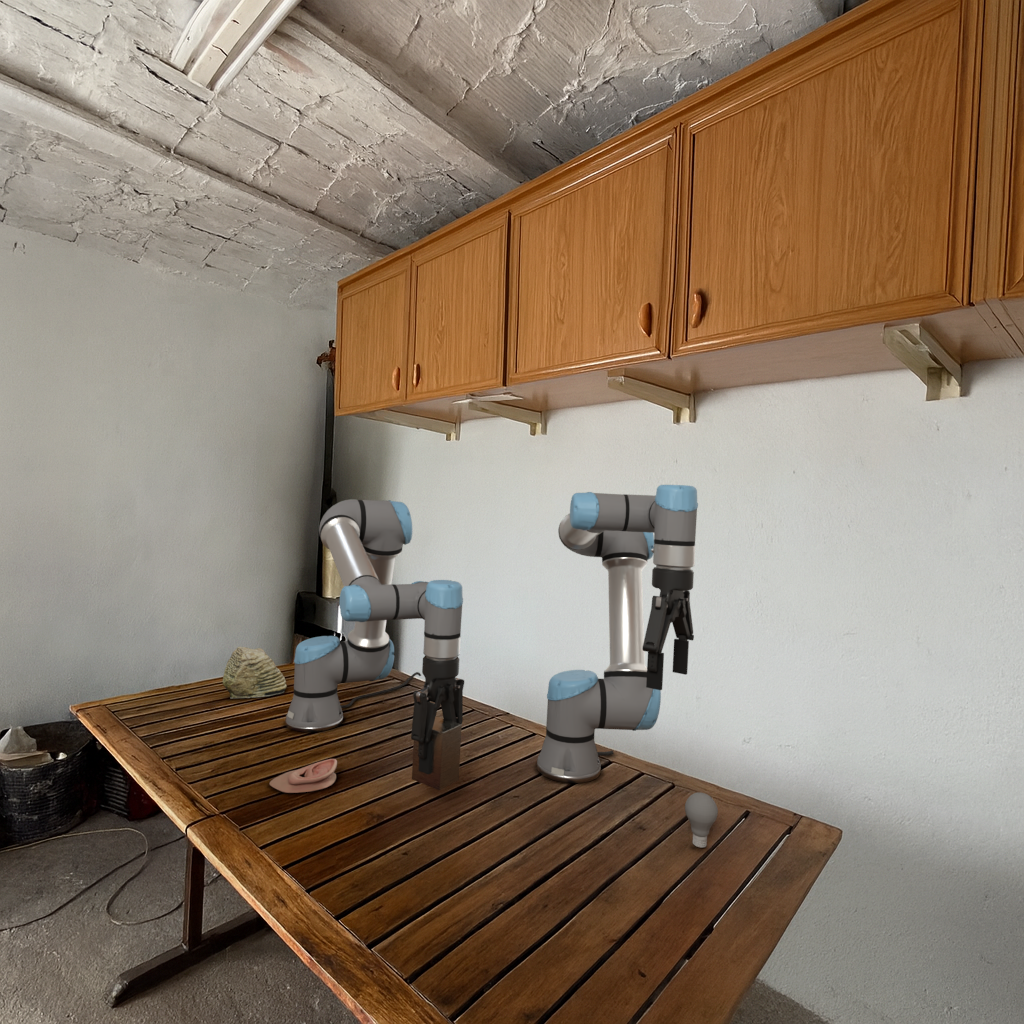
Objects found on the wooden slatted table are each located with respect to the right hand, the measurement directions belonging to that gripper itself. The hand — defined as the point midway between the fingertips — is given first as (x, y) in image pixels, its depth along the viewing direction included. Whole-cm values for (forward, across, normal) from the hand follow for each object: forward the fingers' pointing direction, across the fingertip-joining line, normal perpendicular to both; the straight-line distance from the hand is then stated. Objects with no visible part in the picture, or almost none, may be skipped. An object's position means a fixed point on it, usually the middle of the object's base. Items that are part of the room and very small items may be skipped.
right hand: (667, 680), depth 119 cm
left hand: (+23, +14, -43) cm, 51 cm away
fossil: (+32, -5, -134) cm, 138 cm away
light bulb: (+32, -5, +6) cm, 33 cm away
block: (+26, +14, -43) cm, 53 cm away
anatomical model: (+32, +24, -73) cm, 83 cm away
